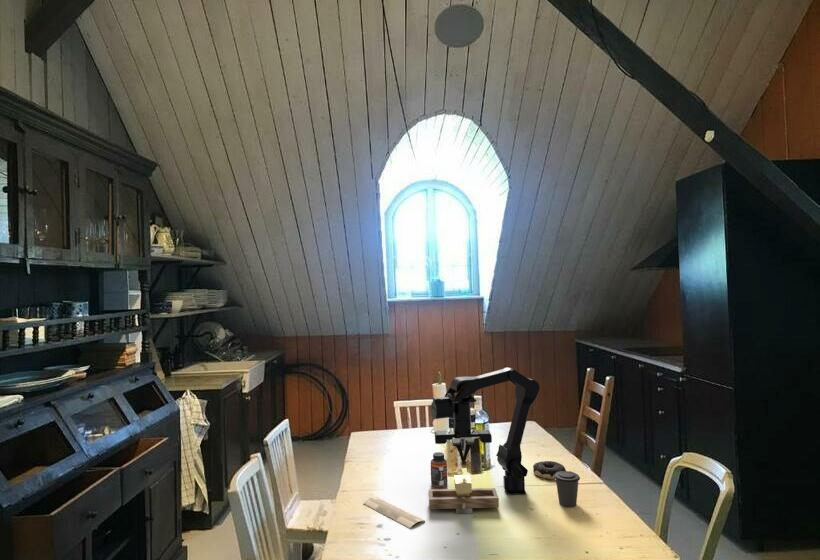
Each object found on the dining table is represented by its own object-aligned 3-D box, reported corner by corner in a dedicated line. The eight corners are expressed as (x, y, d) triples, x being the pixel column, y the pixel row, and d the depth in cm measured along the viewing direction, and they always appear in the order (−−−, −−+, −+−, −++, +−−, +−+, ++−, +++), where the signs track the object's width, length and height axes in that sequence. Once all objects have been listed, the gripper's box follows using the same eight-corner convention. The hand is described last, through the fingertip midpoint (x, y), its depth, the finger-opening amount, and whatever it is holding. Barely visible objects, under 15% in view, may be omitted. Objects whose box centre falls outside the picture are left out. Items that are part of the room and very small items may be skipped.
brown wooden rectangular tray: (495, 500, 168) (494, 486, 168) (499, 513, 159) (498, 498, 159) (428, 502, 169) (428, 488, 169) (429, 514, 160) (429, 500, 160)
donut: (560, 483, 181) (559, 472, 181) (528, 476, 188) (528, 466, 188) (569, 472, 191) (568, 462, 191) (538, 467, 197) (538, 456, 197)
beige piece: (425, 524, 155) (425, 518, 155) (407, 532, 150) (407, 526, 150) (377, 500, 173) (377, 495, 173) (361, 507, 168) (360, 501, 168)
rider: (469, 493, 167) (469, 475, 167) (472, 502, 161) (471, 483, 161) (454, 493, 167) (454, 475, 167) (456, 502, 161) (455, 483, 161)
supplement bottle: (446, 489, 179) (445, 457, 179) (429, 488, 180) (429, 456, 180) (448, 482, 184) (447, 451, 184) (432, 481, 186) (431, 450, 186)
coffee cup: (581, 500, 167) (580, 469, 167) (580, 511, 159) (579, 479, 159) (555, 497, 170) (554, 467, 169) (554, 508, 162) (553, 476, 162)
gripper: (486, 408, 178) (488, 453, 178) (433, 410, 178) (434, 454, 178) (491, 417, 167) (492, 465, 167) (434, 419, 167) (435, 466, 167)
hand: (463, 462), depth 170 cm, fingers closed
